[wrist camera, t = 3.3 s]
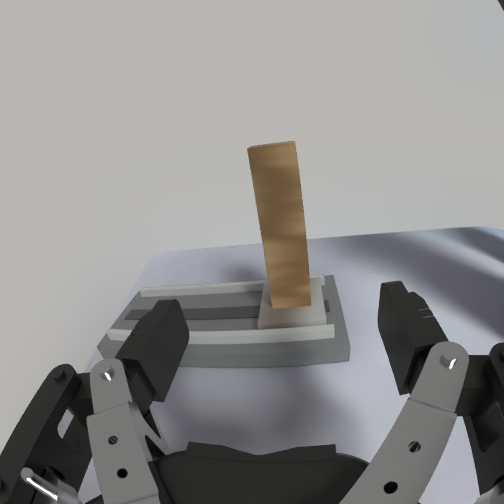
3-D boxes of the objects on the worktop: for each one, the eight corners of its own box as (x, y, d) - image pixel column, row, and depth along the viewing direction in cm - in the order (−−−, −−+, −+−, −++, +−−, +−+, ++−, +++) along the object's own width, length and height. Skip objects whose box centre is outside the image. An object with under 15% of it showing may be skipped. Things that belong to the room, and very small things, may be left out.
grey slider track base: (333, 287, 27) (333, 267, 26) (348, 360, 18) (350, 338, 17) (144, 299, 31) (138, 283, 30) (104, 358, 22) (93, 339, 21)
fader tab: (319, 284, 25) (306, 138, 20) (326, 327, 20) (313, 142, 14) (265, 289, 26) (241, 146, 21) (259, 332, 20) (225, 153, 15)
